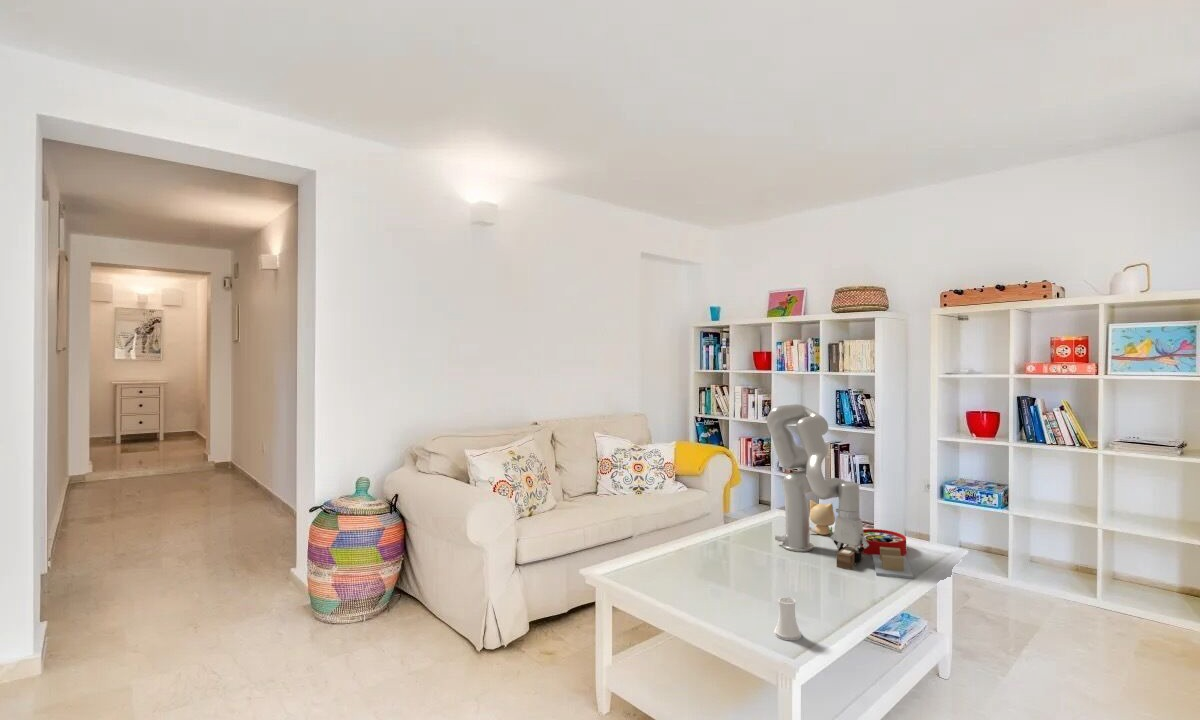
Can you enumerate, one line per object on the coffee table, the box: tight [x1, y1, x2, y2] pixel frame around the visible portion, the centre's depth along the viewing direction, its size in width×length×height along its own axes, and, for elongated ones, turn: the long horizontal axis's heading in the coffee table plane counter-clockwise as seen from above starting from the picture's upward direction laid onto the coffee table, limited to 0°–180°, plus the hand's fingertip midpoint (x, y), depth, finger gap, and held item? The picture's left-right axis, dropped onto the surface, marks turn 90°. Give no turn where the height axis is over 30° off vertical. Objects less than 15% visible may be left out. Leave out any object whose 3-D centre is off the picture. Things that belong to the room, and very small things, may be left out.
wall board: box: [871, 547, 914, 580], centre depth 231 cm, size 12×22×6 cm, turn 159°
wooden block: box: [836, 544, 863, 570], centre depth 237 cm, size 16×5×5 cm, turn 142°
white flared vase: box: [773, 596, 802, 641], centre depth 177 cm, size 8×8×10 cm
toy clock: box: [860, 528, 907, 557], centre depth 253 cm, size 20×6×20 cm
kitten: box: [809, 499, 836, 536], centre depth 275 cm, size 15×10×15 cm
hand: (849, 559), depth 237 cm, fingers closed on wooden block, 5 cm apart
